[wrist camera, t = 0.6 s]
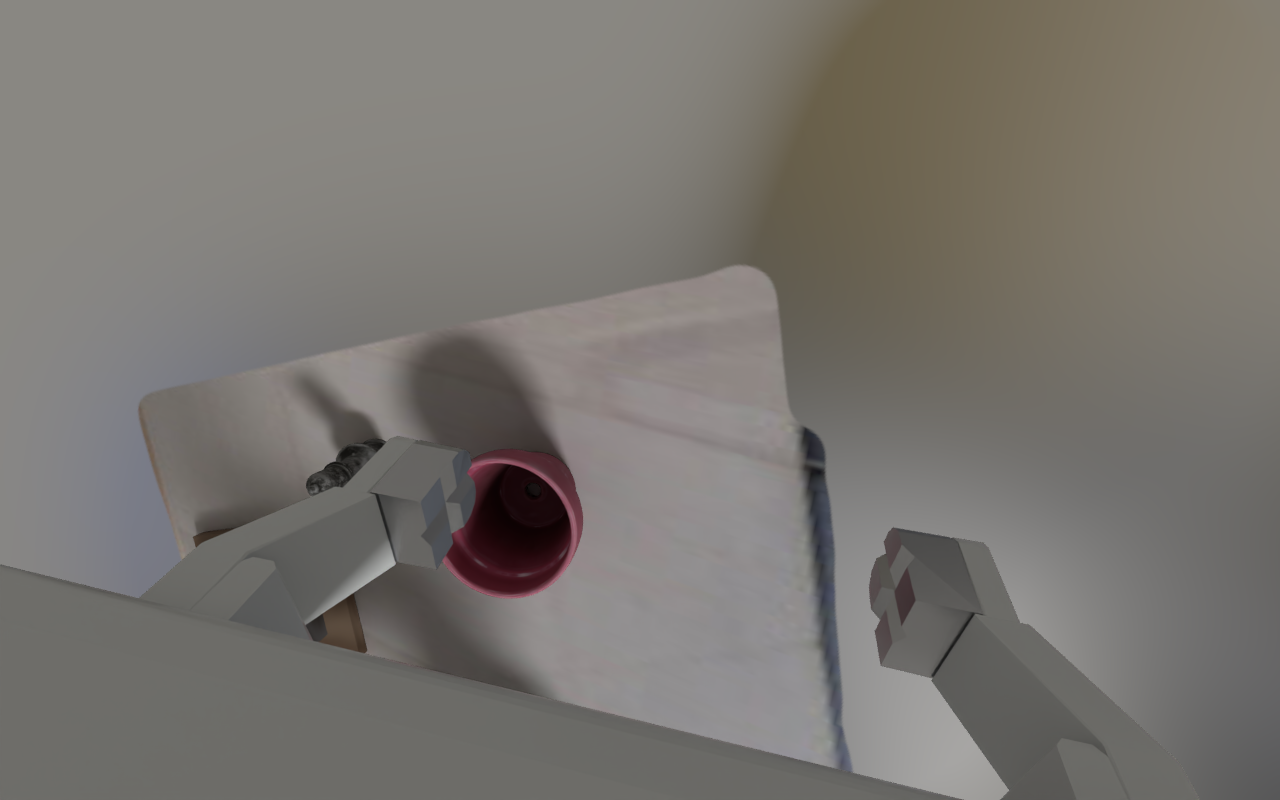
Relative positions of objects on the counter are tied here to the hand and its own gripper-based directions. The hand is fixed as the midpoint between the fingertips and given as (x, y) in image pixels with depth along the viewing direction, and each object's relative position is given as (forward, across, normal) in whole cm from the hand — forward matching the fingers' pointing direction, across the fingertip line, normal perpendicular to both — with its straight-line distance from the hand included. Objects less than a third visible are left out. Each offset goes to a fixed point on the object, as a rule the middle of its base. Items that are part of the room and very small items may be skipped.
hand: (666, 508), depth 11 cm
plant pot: (+37, -18, -38) cm, 56 cm away
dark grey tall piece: (+36, -38, -37) cm, 64 cm away
